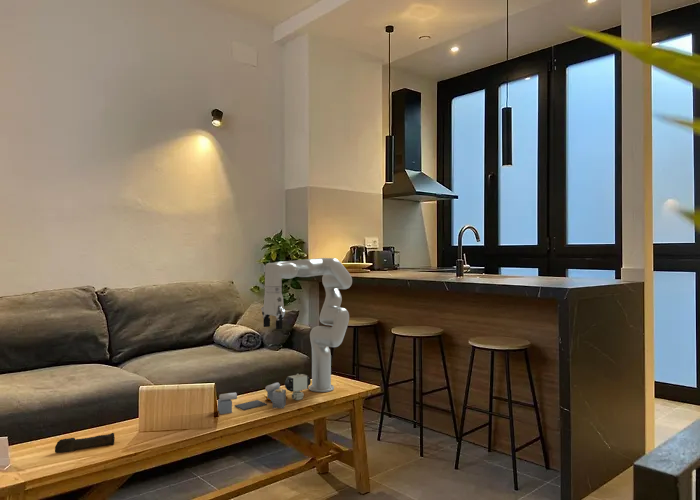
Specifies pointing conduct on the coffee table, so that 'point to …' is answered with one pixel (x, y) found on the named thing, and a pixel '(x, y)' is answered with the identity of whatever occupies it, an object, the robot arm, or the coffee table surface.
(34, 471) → the coffee table surface
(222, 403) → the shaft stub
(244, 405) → the pad
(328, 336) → the robot arm
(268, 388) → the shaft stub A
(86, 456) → the coffee table surface
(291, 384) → the pneumatic valve
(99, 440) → the hand tool
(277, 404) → the block
